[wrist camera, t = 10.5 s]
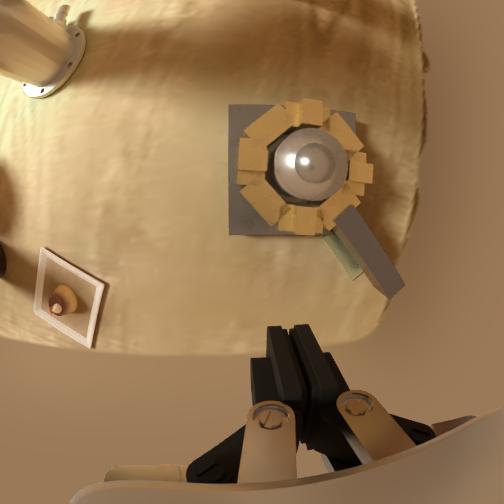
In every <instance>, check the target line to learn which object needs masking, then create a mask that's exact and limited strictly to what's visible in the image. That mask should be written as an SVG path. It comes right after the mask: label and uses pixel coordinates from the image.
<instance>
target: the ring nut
mask: <svg viewBox="0 0 504 504" xmlns="http://www.w3.org/2000/svg"><path fill="white" fill-rule="evenodd" d="M304 128H316V129H321V130H323V131H326V132H328V133H329V134H331V135H332V136H334V137H335V138H336V139H337V140H338V141H339V142H340V144H341V145H342V147H343V148H344V150H345V153H346V156H347V160H348V172H347V177H346V180H345V182H344V184H343V185H342V187H341V188H340V189H339V191H338V192H336V193H335V194H334V195H332V196H331V197H329V198H327V199H323V200H318V201H311V202H310V203H309V204H301V203H289V202H284V201H283V199H282V198H281V197H280V196H279V195H278V194H277V192H276V191H275V190H274V189H273V188H272V187H271V186H270V184H269V183H268V182H267V181H266V180H265V172H267V163H268V150H267V148H268V147H269V146H270V145H271V144H273V143H274V142H275V141H276V140H278V139H279V138H280V137H281V136H283V135H284V134H288V135H290V134H292V133H293V132H295V131H297V130H300V129H304ZM363 147H364V145H363V144H362V142H361V141H360V140H359V139H358V137H357V136H356V135H355V133H354V132H353V131H352V130H351V128H350V127H349V126H348V125H347V123H346V122H345V121H344V120H343V119H342V117H341V116H340V115H339V114H338V113H337V112H335V113H334V114H333V115H331V116H330V108H328V107H323V101H321V100H315V99H308V98H302V100H301V101H300V102H299V103H297V102H289V101H286V102H285V104H284V106H283V107H282V106H281V105H280V104H279V103H278V104H277V105H275V106H274V107H273V108H271V109H270V110H269V111H267V112H266V113H265V114H264V115H262V116H261V117H260V118H258V119H257V120H256V121H255V122H253V123H252V124H251V125H250V126H248V127H247V128H246V129H245V130H244V131H243V138H240V143H239V155H238V173H237V185H246V186H245V187H243V188H242V189H241V190H240V191H239V192H240V193H241V194H242V195H243V196H244V197H245V198H246V200H247V201H248V202H249V203H250V204H251V205H252V206H253V207H254V209H255V210H256V211H257V212H258V213H259V214H260V215H261V216H262V218H263V219H264V220H265V221H266V222H267V223H268V224H269V225H270V227H271V226H273V225H274V227H275V228H276V229H277V230H279V231H291V232H292V233H294V234H298V235H314V236H315V233H323V228H325V229H326V230H328V231H330V230H331V229H332V230H333V231H334V232H335V234H336V235H337V236H338V238H339V239H340V240H341V242H342V243H343V244H344V246H345V247H346V248H347V250H348V251H349V252H350V254H351V255H352V256H353V258H354V259H355V261H356V262H357V263H358V265H359V266H360V268H361V269H362V270H363V272H364V273H365V275H366V276H367V277H368V279H369V280H370V282H371V283H372V285H373V286H374V287H375V288H376V289H377V290H378V291H380V292H381V293H382V294H383V295H385V296H386V297H387V298H388V299H389V300H390V299H391V298H392V297H393V296H394V295H395V294H396V293H397V292H398V291H399V290H400V289H401V288H403V287H404V285H405V284H404V282H403V280H402V279H401V277H400V275H399V274H398V272H397V270H396V269H395V267H394V265H393V264H392V262H391V260H390V259H389V257H388V256H387V254H386V252H385V251H384V249H383V248H382V246H381V245H380V243H379V242H378V240H377V239H376V237H375V236H374V234H373V233H372V231H371V230H370V228H369V227H368V225H367V224H366V222H365V221H364V219H363V218H362V217H361V215H360V214H359V212H358V211H357V209H356V208H355V207H357V206H358V205H359V204H360V203H361V202H360V201H359V199H358V198H357V196H356V195H359V196H364V188H365V184H372V182H373V165H374V164H369V163H366V153H363V152H358V151H359V150H361V149H362V148H363Z"/></svg>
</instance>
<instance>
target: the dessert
mask: <svg viewBox="0 0 504 504" xmlns="http://www.w3.org/2000/svg"><path fill="white" fill-rule="evenodd" d="M47 258H50V259H51V260H53V261H55V262H56V263H58V264H59V265H61V266H63V267H64V268H66V269H67V270H69V271H71V272H72V273H74V274H76V275H77V276H79V277H81V278H83V279H84V280H86V281H88V282H90V283H91V284H93V285H95V286H96V287H97V289H96V293H95V297H94V302H93V306H92V311H91V316H90V321H89V327H88V332H87V338H85V337H83V336H82V335H80V334H78V333H77V332H75V331H74V330H72V329H70V328H69V327H67V326H66V325H64V324H63V323H61V322H59V321H58V320H56V319H55V318H53V317H52V316H50V315H49V314H48V313H46V312H45V311H43V310H42V309H41V304H42V294H43V285H44V277H45V270H46V264H47ZM104 286H105V284H104V283H102V282H100V281H98V280H96V279H95V278H93V277H91V276H89V275H88V274H86V273H84V272H82V271H81V270H79V269H77V268H75V267H74V266H72V265H70V264H69V263H67V262H65V261H64V260H62V259H61V258H59V257H57V256H56V255H54V254H53V253H51V252H49V251H48V250H46V249H45V248H43V247H41V250H40V256H39V262H38V269H37V277H36V287H35V298H34V313H35V314H36V315H38V316H39V317H40V318H42V319H43V320H45V321H46V322H47V323H49V324H50V325H52V326H53V327H55V328H56V329H58V330H59V331H61V332H62V333H64V334H66V335H67V336H69V337H70V338H72V339H74V340H75V341H77V342H78V343H80V344H82V345H83V346H85V347H87V348H89V349H91V346H92V340H93V335H94V330H95V325H96V320H97V315H98V311H99V306H100V302H101V298H102V294H103V290H104ZM77 305H78V302H77V298H76V295H75V293H74V292H73V290H72V289H71V288H70V287H68V286H67V285H64V284H61V285H58V286H57V287H56V289H55V291H54V292H53V294H52V295H51V297H50V298H49V307H50V311H51V314H52V313H54V314H55V315H57V316H62V315H66V314H69V313H73V312H74V311H75V310H76V309H77Z"/></svg>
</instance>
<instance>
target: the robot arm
mask: <svg viewBox="0 0 504 504" xmlns="http://www.w3.org/2000/svg"><path fill="white" fill-rule="evenodd" d="M69 9H70V6H69V5H62V6H61V7H60V8H59V10H58V13H57V15H56V19H55V20H54V17H47V16H46V15H45V14H43V13H42V12H41V11H39V10H38V9H37V8H35V7H34V6H33V5H31V4H30V3H29V2H27V1H26V0H0V75H2V76H5V77H8V78H11V79H13V80H16V81H19V82H22V89H23V91H24V93H25V94H26V95H27V96H29V97H31V98H36V99H37V98H43V97H46V96H48V95H50V94H52V93H53V92H54V91H56V90H57V89H58V88H60V87H61V86H62V85H63V84H64V83H65V82H66V81H67V79H68V78H69V77H70V76H71V75H72V73H73V72H74V71H75V69H76V67H77V66H78V64H79V62H80V60H81V58H82V56H83V53H84V50H85V46H86V37H85V34H84V32H83V31H82V30H81V29H80V28H79V27H77V26H74V25H68V26H67V25H66V19H65V18H66V16H67V15H68V12H69ZM250 366H251V392H252V402H253V407H252V408H251V409H250V410H249V412H248V415H247V421H246V424H245V425H244V426H243V427H242V428H240V429H239V430H238V431H236V432H235V433H234V434H232V435H231V436H229V437H228V438H227V439H225V440H224V441H223V442H221V443H220V444H219V445H217V446H215V447H214V448H213V449H211V450H210V451H208V452H207V453H205V454H204V455H202V456H201V457H199V458H198V459H196V460H194V461H193V462H192V463H191V464H190V465H186V466H178V464H169V465H149V466H116V467H114V468H112V469H110V470H109V471H108V472H107V473H106V475H105V479H104V482H101V483H97V484H92V485H89V486H86V487H84V488H82V489H81V490H80V491H79V492H77V493H76V494H75V495H74V497H73V498H72V499H71V501H70V503H69V504H504V407H500V408H497V409H494V410H491V411H489V412H486V413H484V414H481V415H479V416H477V417H476V416H472V415H471V416H465V417H461V418H457V419H453V420H448V421H444V422H439V423H435V424H432V425H431V426H430V427H429V426H428V425H425V424H422V423H418V422H415V421H412V420H408V419H405V418H402V417H398V416H395V415H392V414H389V413H388V412H387V411H386V410H385V408H384V407H383V406H382V405H381V404H380V403H379V401H378V400H377V399H376V398H375V397H374V396H373V395H372V394H370V393H368V392H366V391H361V390H350V389H349V387H348V385H347V383H346V382H345V380H344V378H343V376H342V374H341V372H340V370H339V368H338V367H337V365H336V363H335V361H334V359H333V357H332V355H331V354H330V353H329V352H326V353H323V352H322V350H321V348H320V346H319V344H318V342H317V340H316V338H315V336H314V334H313V332H312V330H311V328H310V326H309V325H308V324H302V325H295V326H294V329H290V330H289V335H288V332H287V329H282V327H281V326H268V327H267V349H266V357H265V358H251V365H250ZM299 441H301V443H302V444H303V443H306V446H307V450H312V449H314V450H315V451H318V452H319V453H321V459H322V461H323V463H324V465H325V467H326V469H327V470H328V472H329V473H326V474H321V475H316V476H311V477H305V478H298V479H297V468H296V453H297V450H298V446H299Z"/></svg>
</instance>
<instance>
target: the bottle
mask: <svg viewBox="0 0 504 504" xmlns="http://www.w3.org/2000/svg"><path fill="white" fill-rule="evenodd" d="M5 269H6V260H5V255H4V251H3V249H2V247H1V245H0V277H2V276H3V274H4V273H5Z"/></svg>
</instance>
